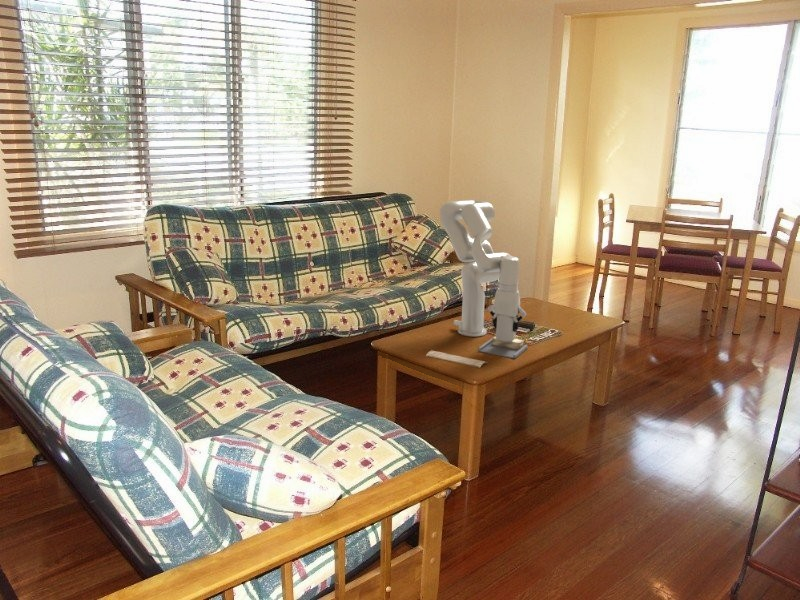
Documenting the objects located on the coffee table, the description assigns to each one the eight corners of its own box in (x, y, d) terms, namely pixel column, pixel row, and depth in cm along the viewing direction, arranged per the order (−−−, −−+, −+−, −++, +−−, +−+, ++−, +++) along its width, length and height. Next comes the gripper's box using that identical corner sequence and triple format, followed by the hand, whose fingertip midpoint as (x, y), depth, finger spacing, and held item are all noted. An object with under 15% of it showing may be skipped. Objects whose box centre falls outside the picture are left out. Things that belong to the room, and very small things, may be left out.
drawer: (478, 351, 288) (478, 348, 288) (491, 341, 300) (491, 338, 300) (515, 358, 281) (515, 355, 280) (527, 348, 293) (527, 345, 292)
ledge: (492, 345, 296) (492, 338, 295) (495, 342, 299) (496, 335, 298) (519, 350, 290) (520, 343, 289) (522, 347, 294) (523, 340, 293)
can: (501, 335, 296) (503, 308, 293) (517, 340, 292) (519, 312, 288) (492, 340, 291) (493, 312, 287) (507, 344, 286) (509, 316, 283)
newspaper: (426, 357, 283) (426, 353, 282) (434, 352, 289) (434, 348, 288) (480, 369, 271) (480, 365, 271) (487, 363, 277) (488, 359, 277)
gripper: (484, 286, 286) (482, 327, 291) (525, 292, 278) (522, 335, 283) (491, 282, 292) (489, 323, 297) (532, 288, 284) (529, 330, 289)
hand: (505, 328), depth 290 cm, fingers closed on can, 7 cm apart
